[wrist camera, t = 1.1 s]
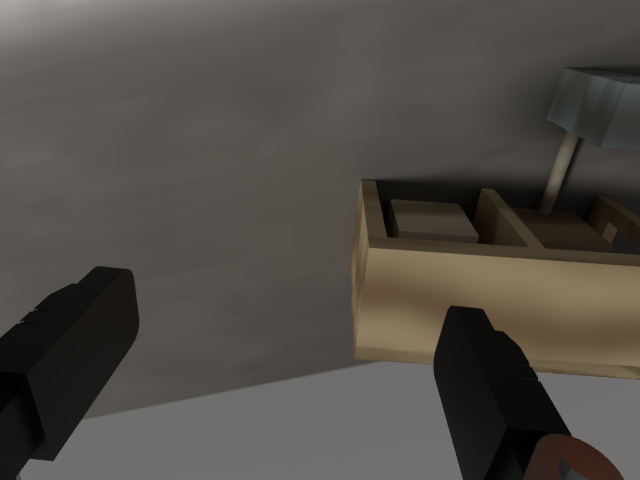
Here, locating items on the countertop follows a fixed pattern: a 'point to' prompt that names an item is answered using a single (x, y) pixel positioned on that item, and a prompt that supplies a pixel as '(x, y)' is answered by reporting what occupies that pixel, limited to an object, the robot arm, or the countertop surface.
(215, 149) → the countertop surface
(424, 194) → the countertop surface
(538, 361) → the divided wooden crate
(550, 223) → the corded block
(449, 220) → the plain block
